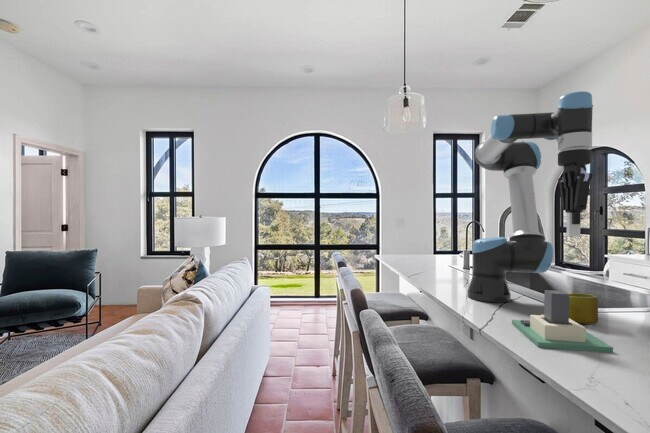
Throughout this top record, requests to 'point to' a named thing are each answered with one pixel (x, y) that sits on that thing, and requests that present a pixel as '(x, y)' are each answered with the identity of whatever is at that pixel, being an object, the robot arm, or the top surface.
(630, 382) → the top surface
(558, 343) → the board
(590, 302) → the mug
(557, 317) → the plug
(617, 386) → the top surface
